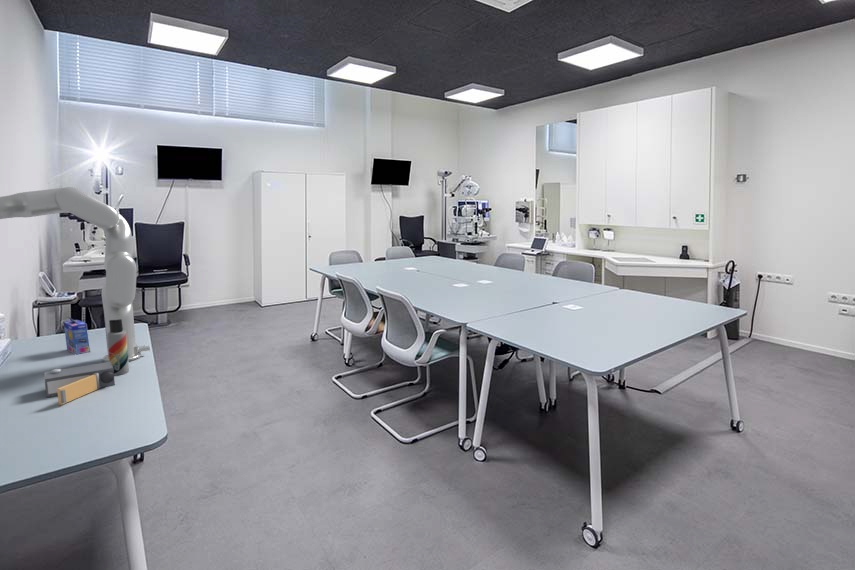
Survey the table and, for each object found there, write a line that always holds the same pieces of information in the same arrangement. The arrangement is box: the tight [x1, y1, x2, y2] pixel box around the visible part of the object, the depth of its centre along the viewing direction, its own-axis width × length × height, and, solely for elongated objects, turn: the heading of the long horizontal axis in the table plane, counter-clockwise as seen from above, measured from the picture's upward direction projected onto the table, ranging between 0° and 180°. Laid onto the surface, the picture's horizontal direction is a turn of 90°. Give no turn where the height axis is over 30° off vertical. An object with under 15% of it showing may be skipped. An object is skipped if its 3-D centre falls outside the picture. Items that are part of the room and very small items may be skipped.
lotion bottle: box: [107, 319, 130, 376], centre depth 168 cm, size 6×6×20 cm
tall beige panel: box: [57, 373, 101, 406], centre depth 148 cm, size 14×2×5 cm, turn 170°
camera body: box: [43, 362, 116, 398], centre depth 155 cm, size 18×9×7 cm, turn 130°
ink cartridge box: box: [63, 316, 91, 355], centre depth 192 cm, size 10×6×14 cm, turn 54°
